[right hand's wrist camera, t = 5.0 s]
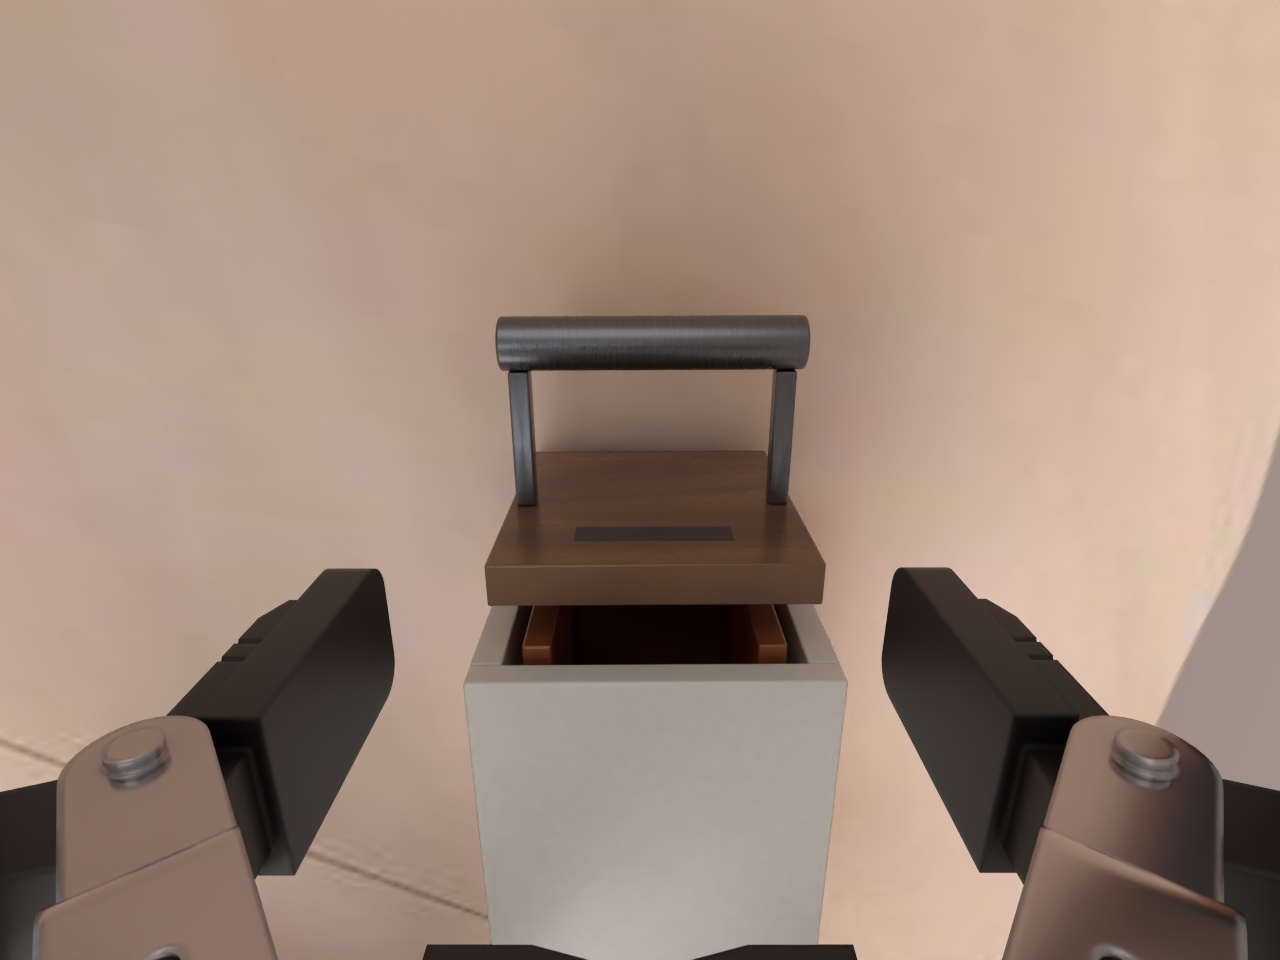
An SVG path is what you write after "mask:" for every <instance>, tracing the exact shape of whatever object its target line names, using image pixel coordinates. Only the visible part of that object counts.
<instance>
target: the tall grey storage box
mask: <svg viewBox="0 0 1280 960" xmlns="http://www.w3.org/2000/svg"><path fill="white" fill-rule="evenodd" d="M773 606H774V609H775V612H776V614H777V617H778V620H779V623H780V626H781V629H782V632H783V635H784V637H785V640H786V643H787V658H786V664H658V665H523V655H522V645H523V641H524V638H525V634H526V630H527V626H528V623H529V619H530V615H531V611H532V608H533V606H492V607H491V610H490V613H489V616H488V618H487V621H486V624H485V626H484V629H483V632H482V634H481V637H480V640H479V642H478V645H477V648H476V651H475V653H474V656H473V659H472V661H471V664H470V668H469V671H468V673H467V676H466V679H465V682H464V684H463V686H464V695H465V705H466V714H467V723H468V733H469V742H470V751H471V761H472V770H473V779H474V789H475V798H476V807H477V817H478V826H479V835H480V845H481V854H482V863H483V873H484V882H485V891H486V901H487V910H488V919H489V929H490V938H491V945H535V946H539V947H543V948H546V949H550V950H554V951H558V952H561V953H565V954H569V955H573V956H576V957H580V958H584V959H588V960H692V959H696V958H700V957H704V956H707V955H711V954H715V953H719V952H722V951H726V950H730V949H734V948H737V947H741V946H745V945H818V937H819V929H820V920H821V911H822V903H823V894H824V885H825V877H826V868H827V859H828V851H829V842H830V833H831V825H832V816H833V807H834V799H835V790H836V781H837V773H838V764H839V755H840V747H841V738H842V729H843V721H844V712H845V703H846V695H847V686H848V681H847V679H846V677H845V675H844V672H843V670H842V668H841V666H840V664H839V660H838V658H837V656H836V653H835V651H834V649H833V647H832V645H831V642H830V640H829V638H828V636H827V634H826V631H825V629H824V627H823V625H822V623H821V620H820V618H819V616H818V614H817V612H816V609H815V607H814V605H813V604H773Z"/></svg>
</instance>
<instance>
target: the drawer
mask: <svg viewBox="0 0 1280 960" xmlns="http://www.w3.org/2000/svg"><path fill="white" fill-rule="evenodd" d="M495 340H496V355H497V360H498V364H499V367H500V369H501V370H503V371H509V373H508V383H509V398H510V412H511V427H512V441H513V456H514V470H515V485H516V495H515V497H514V500H513V502H512V504H511V507H510V509H509V511H508V514H507V516H506V518H505V520H504V523H503V525H502V527H501V530H500V532H499V534H498V537H497V539H496V541H495V543H494V546H493V548H492V550H491V553H490V555H489V557H488V560H487V562H486V564H485V577H486V588H487V600H488V605H489V606H533V608H532V611H531V615H530V619H529V623H528V626H527V630H526V634H525V638H524V641H523V645H522V655H523V665H658V664H786V658H787V643H786V640H785V637H784V635H783V632H782V629H781V626H780V623H779V620H778V617H777V614H776V612H775V609H774V606H773V604H822V600H823V589H824V579H825V568H826V564H825V562H824V560H823V558H822V556H821V554H820V552H819V551H818V549H817V547H816V545H815V543H814V541H813V540H812V538H811V536H810V534H809V532H808V530H807V528H806V527H805V525H804V523H803V521H802V519H801V517H800V515H799V514H798V512H797V510H796V508H795V506H794V504H793V503H792V501H791V499H790V497H789V495H788V489H789V476H790V462H791V448H792V434H793V421H794V407H795V393H796V380H797V372H796V370H795V369H803V368H805V366H806V364H807V361H808V357H809V350H810V327H809V322H808V319H807V317H806V316H804V315H751V316H533V317H500V318H499V319H498V321H497V325H496V337H495ZM767 369H774V370H773V383H772V399H771V416H770V432H769V448H768V456H767V454H766V453H765V451H626V452H536V449H535V431H534V414H533V396H532V379H531V371H557V370H767Z"/></svg>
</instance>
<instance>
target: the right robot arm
mask: <svg viewBox="0 0 1280 960" xmlns="http://www.w3.org/2000/svg"><path fill="white" fill-rule="evenodd" d="M394 665H395V661H394V650H393V643H392V635H391V628H390V621H389V614H388V607H387V600H386V593H385V586H384V581H383V577H382V575H381V573H380V571H379V570H378V569H326V570H324V571H323V572H322V573H321V574H320V575H319V577H318V578H317V579H316V580H315V581H314V582H313V583H312V584H311V586H310V587H309V588H308V589H307V590H306V591H305V592H304V593H303V595H302V596H301V597H300V598H299V599H298V600H289V601H287V602H285V603H284V604H282V605H280V606H278V607H277V608H275V609H273V610H272V611H270V612H268V613H267V614H265V615H263V616H261V617H260V618H258V619H257V620H256V621H255V622H254V624H253V625H252V626H251V627H250V628H249V629H248V630H247V631H246V632H245V633H244V634H243V635H242V636H241V637H240V638H239V642H238V644H234V645H233V646H232V647H231V648H230V649H229V650H228V651H227V652H226V653H225V654H224V655H223V656H222V661H221V662H217V663H216V664H215V665H214V666H213V667H212V668H211V669H210V670H209V671H208V672H207V673H206V674H205V675H204V676H203V677H202V678H201V680H200V681H199V682H198V683H197V684H196V685H195V686H194V687H193V688H192V689H191V690H190V691H189V692H188V693H187V694H186V695H185V696H184V698H183V699H182V700H181V701H180V702H179V703H178V704H177V705H176V706H175V707H174V708H173V709H172V710H171V711H170V712H169V713H168V714H167V715H166V716H163V717H155V718H151V719H146V720H142V721H139V722H136V723H132V724H130V725H127V726H124V727H122V728H119V729H117V730H115V731H113V732H110V733H108V734H106V735H105V736H103V737H101V738H99V739H97V740H96V741H94V742H93V743H91V744H90V745H88V746H87V747H85V748H84V749H83V750H81V751H80V752H79V753H78V754H76V755H75V756H74V757H73V758H72V759H71V760H70V761H69V762H68V763H67V765H66V766H65V767H64V769H63V770H62V772H61V774H60V776H59V778H58V780H55V781H51V782H46V783H41V784H36V785H32V786H27V787H22V788H17V789H13V790H8V791H3V792H0V960H278V958H277V955H276V951H275V948H274V944H273V941H272V938H271V934H270V931H269V927H268V924H267V920H266V917H265V914H264V910H263V907H262V903H261V900H260V897H259V893H258V890H257V886H256V883H255V879H256V877H257V875H295V874H296V872H297V870H298V868H299V866H300V864H301V862H302V860H303V859H304V857H305V855H306V853H307V851H308V849H309V847H310V845H311V843H312V841H313V839H314V838H315V836H316V834H317V832H318V830H319V828H320V826H321V824H322V822H323V820H324V818H325V816H326V815H327V813H328V811H329V809H330V807H331V805H332V803H333V801H334V799H335V797H336V795H337V794H338V792H339V790H340V788H341V786H342V784H343V782H344V780H345V778H346V776H347V774H348V773H349V771H350V769H351V767H352V765H353V763H354V761H355V759H356V757H357V755H358V753H359V751H360V750H361V748H362V746H363V744H364V742H365V740H366V738H367V736H368V734H369V732H370V730H371V729H372V727H373V725H374V723H375V721H376V719H377V717H378V715H379V713H380V711H381V709H382V708H383V706H384V704H385V702H386V700H387V698H388V696H389V693H390V690H391V687H392V683H393V677H394ZM882 673H883V680H884V685H885V688H886V691H887V694H888V696H889V698H890V700H891V702H892V704H893V706H894V708H895V710H896V712H897V714H898V716H899V717H900V719H901V721H902V723H903V725H904V727H905V729H906V731H907V733H908V735H909V737H910V739H911V741H912V743H913V745H914V746H915V748H916V750H917V752H918V754H919V756H920V758H921V760H922V762H923V764H924V766H925V768H926V770H927V772H928V774H929V775H930V777H931V779H932V781H933V783H934V785H935V787H936V789H937V791H938V793H939V795H940V797H941V799H942V801H943V803H944V805H945V806H946V808H947V810H948V812H949V814H950V816H951V818H952V820H953V822H954V824H955V826H956V828H957V830H958V832H959V834H960V835H961V837H962V839H963V841H964V843H965V845H966V847H967V849H968V851H969V853H970V855H971V857H972V859H973V861H974V863H975V865H976V866H977V868H978V870H979V872H980V873H1017V874H1018V876H1019V878H1020V879H1021V881H1022V883H1023V885H1024V886H1023V890H1022V893H1021V897H1020V900H1019V903H1018V907H1017V910H1016V914H1015V917H1014V920H1013V924H1012V927H1011V931H1010V934H1009V938H1008V941H1007V944H1006V948H1005V951H1004V955H1003V958H1002V960H1280V791H1277V790H1272V789H1267V788H1263V787H1258V786H1253V785H1249V784H1244V783H1239V782H1234V781H1230V780H1225V779H1222V778H1221V776H1220V774H1219V772H1218V770H1217V769H1216V767H1215V766H1214V765H1213V763H1212V762H1211V761H1210V760H1209V759H1208V758H1207V757H1206V756H1205V755H1204V754H1202V753H1201V752H1200V751H1199V750H1197V749H1196V748H1195V747H1193V746H1192V745H1190V744H1189V743H1187V742H1186V741H1184V740H1183V739H1181V738H1179V737H1177V736H1175V735H1174V734H1172V733H1170V732H1167V731H1165V730H1163V729H1161V728H1158V727H1156V726H1153V725H1150V724H1148V723H1144V722H1141V721H1138V720H1134V719H1129V718H1125V717H1117V716H1109V715H1108V714H1107V713H1106V711H1105V710H1104V709H1103V708H1102V707H1101V706H1100V705H1099V704H1098V703H1097V702H1096V701H1095V700H1094V699H1093V698H1092V697H1091V695H1090V694H1089V693H1088V692H1087V691H1086V690H1085V689H1084V688H1083V687H1082V686H1081V685H1080V684H1079V683H1078V682H1077V681H1076V679H1075V678H1074V677H1073V676H1072V675H1071V674H1070V673H1069V672H1068V671H1067V670H1066V669H1065V668H1064V667H1063V666H1062V665H1061V664H1060V662H1059V661H1058V660H1053V655H1052V654H1051V653H1050V652H1049V651H1048V650H1047V649H1046V648H1045V646H1044V645H1043V644H1042V643H1041V642H1037V641H1036V637H1035V636H1034V635H1033V634H1032V633H1031V632H1030V630H1029V629H1028V628H1027V627H1026V626H1025V625H1024V624H1023V623H1022V622H1021V621H1020V620H1019V619H1018V618H1017V617H1016V616H1014V615H1013V614H1011V613H1009V612H1008V611H1006V610H1004V609H1003V608H1001V607H999V606H998V605H996V604H994V603H992V602H991V601H989V600H987V599H977V597H976V596H975V595H974V594H973V593H972V592H971V591H970V589H969V588H968V587H967V586H966V585H965V584H964V583H963V582H962V580H961V579H960V578H959V577H958V576H957V575H956V574H955V572H954V571H953V570H952V569H950V568H898V569H897V570H896V572H895V574H894V576H893V580H892V585H891V592H890V600H889V607H888V614H887V622H886V629H885V636H884V643H883V651H882ZM423 960H588V959H584V958H580V957H576V956H573V955H569V954H565V953H561V952H558V951H554V950H550V949H546V948H543V947H539V946H535V945H427V947H426V950H425V953H424V957H423ZM692 960H857V957H856V953H855V950H854V947H853V945H745V946H741V947H737V948H734V949H730V950H726V951H722V952H719V953H715V954H711V955H707V956H704V957H700V958H696V959H692Z"/></svg>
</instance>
